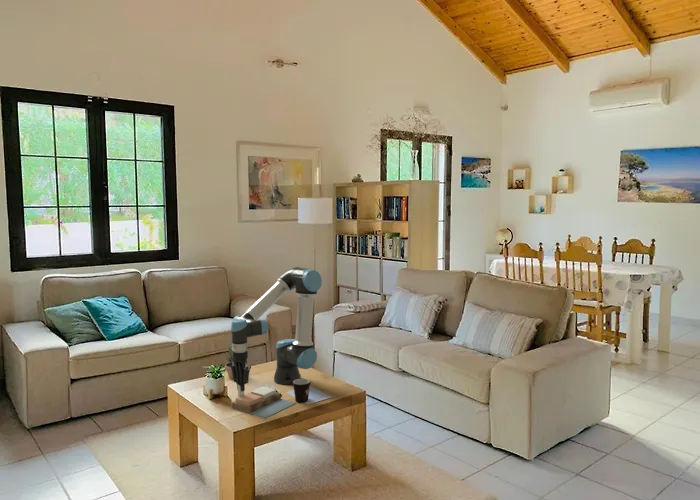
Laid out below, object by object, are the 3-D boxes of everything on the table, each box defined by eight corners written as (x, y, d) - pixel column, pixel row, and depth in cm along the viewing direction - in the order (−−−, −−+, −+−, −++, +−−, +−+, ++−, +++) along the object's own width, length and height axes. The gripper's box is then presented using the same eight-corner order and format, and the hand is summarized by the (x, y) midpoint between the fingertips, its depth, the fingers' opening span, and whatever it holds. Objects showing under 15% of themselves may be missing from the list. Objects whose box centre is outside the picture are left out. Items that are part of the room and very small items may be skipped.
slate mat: (281, 399, 279) (281, 398, 279) (296, 403, 273) (296, 402, 273) (250, 413, 261) (250, 413, 261) (265, 418, 255) (265, 417, 255)
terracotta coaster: (249, 396, 275) (248, 392, 274) (261, 400, 269) (261, 396, 269) (235, 402, 267) (235, 398, 267) (248, 406, 262) (248, 402, 262)
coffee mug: (298, 405, 271) (298, 385, 270) (290, 400, 278) (289, 381, 277) (318, 399, 278) (318, 380, 277) (309, 394, 285) (309, 376, 284)
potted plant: (233, 380, 308) (231, 337, 305) (222, 377, 314) (220, 335, 311) (246, 375, 316) (245, 334, 313) (235, 372, 322) (234, 331, 319)
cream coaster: (263, 389, 284) (263, 386, 284) (275, 393, 279) (275, 389, 279) (250, 395, 277) (250, 391, 276) (263, 398, 272) (263, 395, 271)
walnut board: (263, 394, 286) (263, 388, 285) (280, 399, 279) (280, 393, 279) (232, 408, 268) (231, 402, 267) (249, 413, 261) (249, 407, 261)
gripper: (225, 350, 269) (226, 396, 272) (243, 354, 262) (244, 402, 264) (236, 347, 276) (237, 391, 278) (254, 351, 268) (255, 397, 271)
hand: (241, 396), depth 271 cm, fingers closed
